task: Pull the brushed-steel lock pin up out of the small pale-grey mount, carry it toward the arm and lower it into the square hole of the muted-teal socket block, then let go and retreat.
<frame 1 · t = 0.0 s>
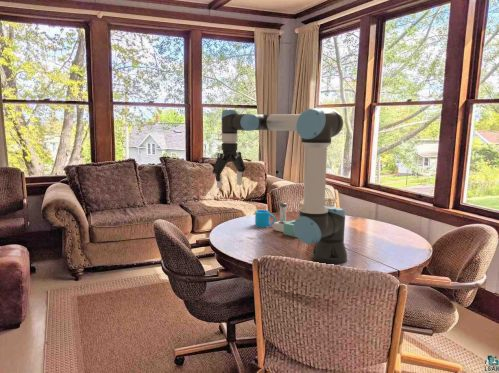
hand: (229, 186, 200), 28 cm above the table, fingers open, 13 cm apart
mug: (265, 226, 236), on the table
pin: (283, 216, 226), in the mount
socket: (295, 234, 219), on the table
mount: (282, 229, 227), on the table
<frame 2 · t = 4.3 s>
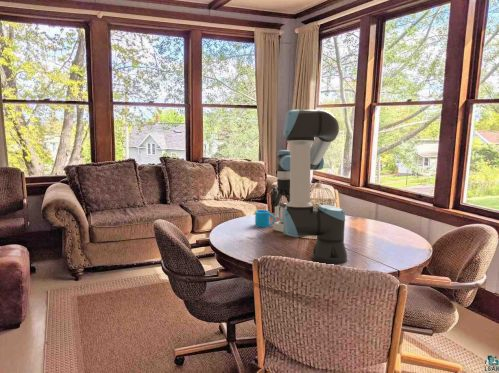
hand: (283, 219, 226), 6 cm above the table, fingers open, 9 cm apart
nothing on the table moved.
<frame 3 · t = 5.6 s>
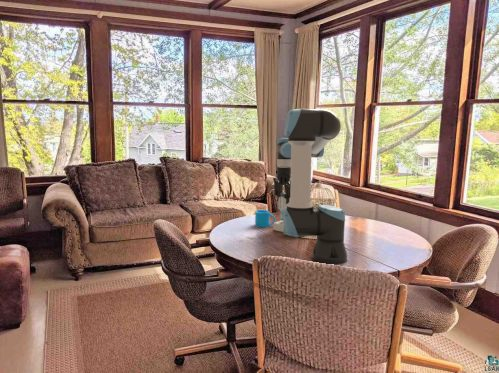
hand: (283, 209, 225), 12 cm above the table, fingers closed on pin, 3 cm apart
pin: (283, 206, 225), point 13 cm above the table, touching gripper
everything else where it was.
when the fingers open (7 cm above the table, at t = 9.9 s): pin drops 1 cm, resting in socket.
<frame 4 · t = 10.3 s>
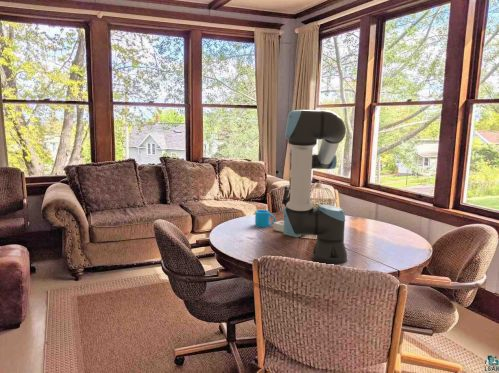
hand: (295, 219, 218), 8 cm above the table, fingers open, 10 cm apart
pin: (295, 220, 218), in the socket
everything else where it was.
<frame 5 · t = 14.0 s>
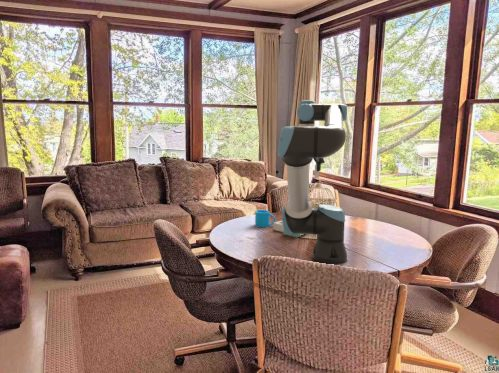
hand: (305, 176, 202), 33 cm above the table, fingers open, 13 cm apart
nothing on the table moved.
at the end: pin 0.1 cm off-centre on the socket, point 7.5 cm above the socket's base; pin tilted 0°; the gripper is holding nothing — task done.
